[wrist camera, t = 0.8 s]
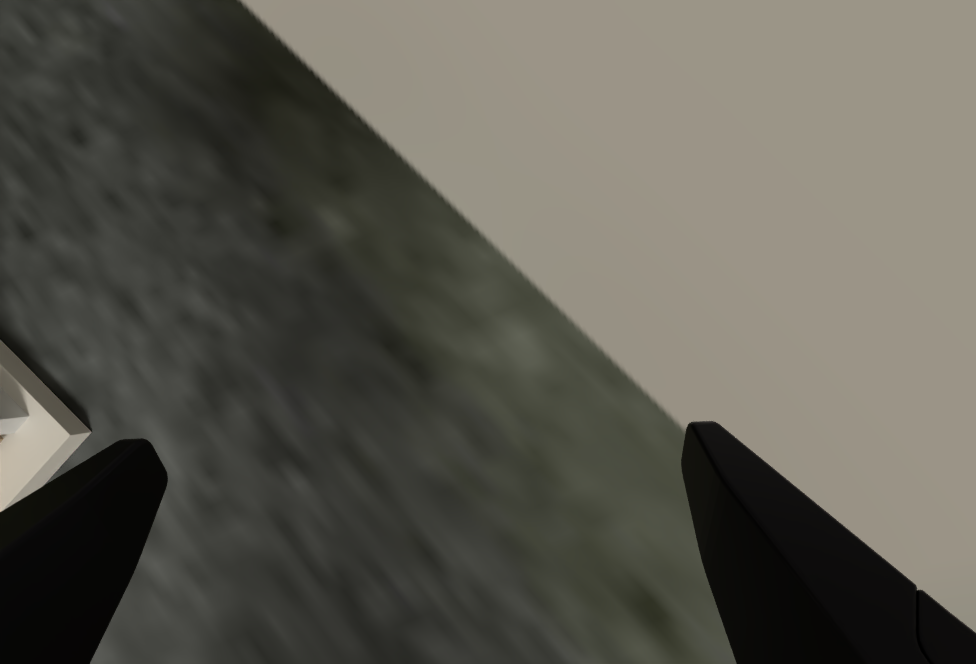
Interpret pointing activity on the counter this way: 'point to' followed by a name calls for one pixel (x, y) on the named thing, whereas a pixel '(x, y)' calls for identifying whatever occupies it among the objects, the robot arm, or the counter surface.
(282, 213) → the counter surface
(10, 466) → the housing
